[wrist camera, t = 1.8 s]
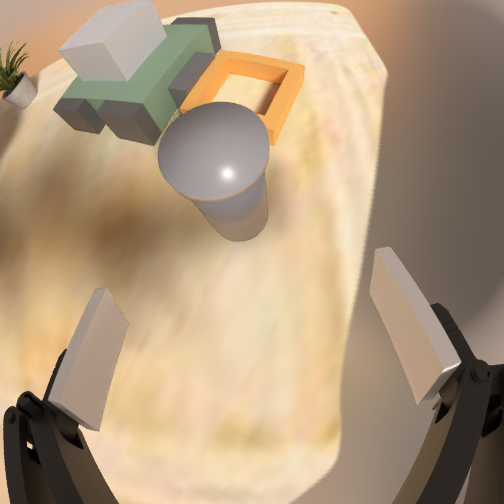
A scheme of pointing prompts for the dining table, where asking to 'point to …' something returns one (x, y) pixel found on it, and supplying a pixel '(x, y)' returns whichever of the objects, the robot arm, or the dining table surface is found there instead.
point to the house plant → (16, 83)
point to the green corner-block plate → (158, 72)
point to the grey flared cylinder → (220, 166)
